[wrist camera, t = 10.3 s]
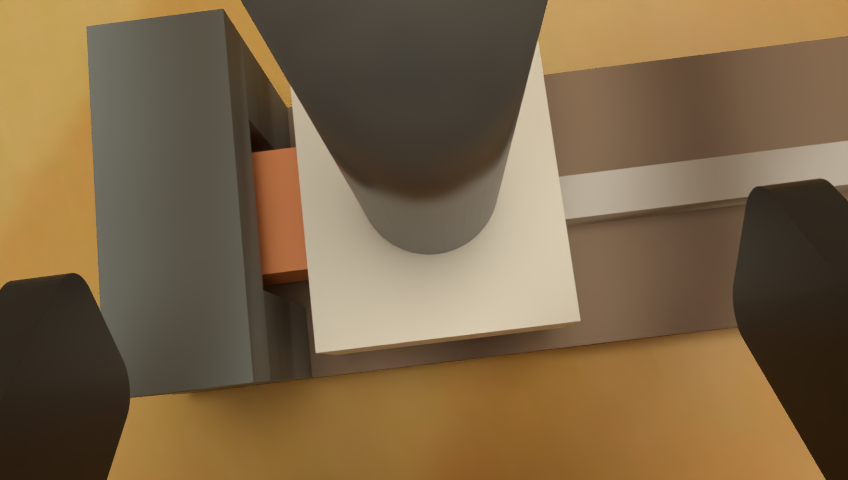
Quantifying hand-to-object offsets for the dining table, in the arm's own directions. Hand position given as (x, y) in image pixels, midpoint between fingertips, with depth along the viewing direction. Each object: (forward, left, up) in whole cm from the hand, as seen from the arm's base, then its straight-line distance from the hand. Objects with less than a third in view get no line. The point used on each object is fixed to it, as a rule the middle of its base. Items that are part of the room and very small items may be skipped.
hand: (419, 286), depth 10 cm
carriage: (0, +3, -11) cm, 11 cm away
